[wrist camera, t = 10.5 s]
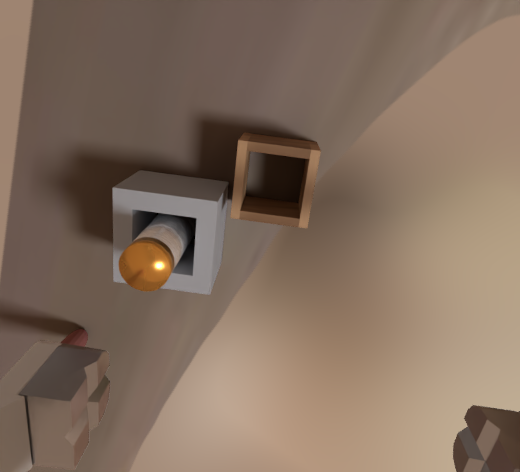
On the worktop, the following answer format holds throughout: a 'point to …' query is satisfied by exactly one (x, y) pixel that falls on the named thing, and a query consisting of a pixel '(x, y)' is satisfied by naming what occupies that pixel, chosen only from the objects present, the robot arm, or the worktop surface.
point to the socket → (175, 203)
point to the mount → (272, 208)
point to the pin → (156, 251)
